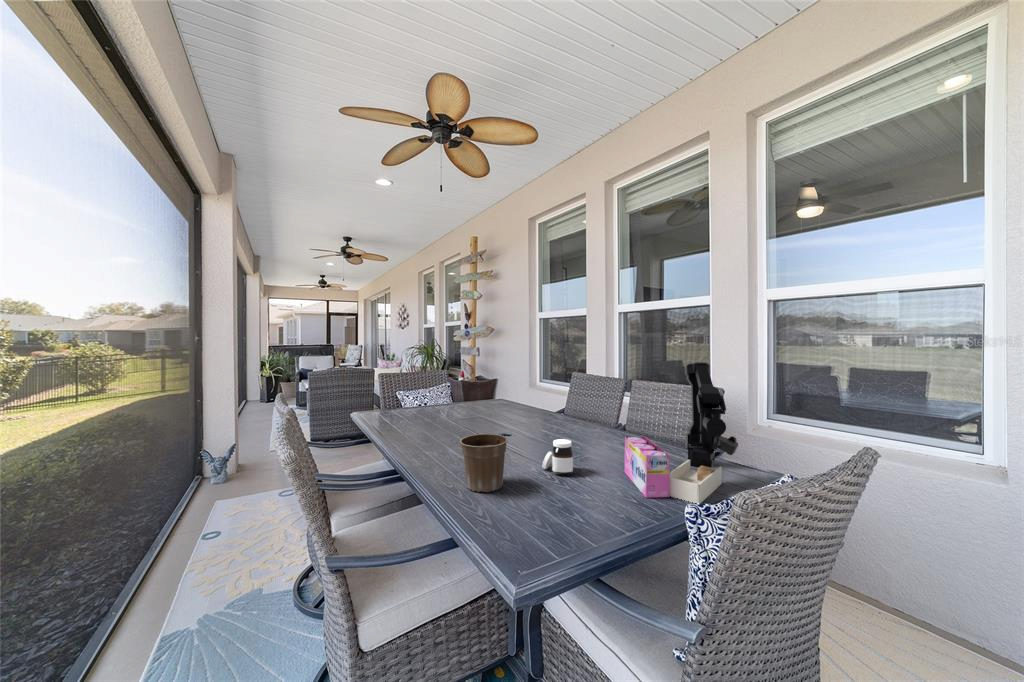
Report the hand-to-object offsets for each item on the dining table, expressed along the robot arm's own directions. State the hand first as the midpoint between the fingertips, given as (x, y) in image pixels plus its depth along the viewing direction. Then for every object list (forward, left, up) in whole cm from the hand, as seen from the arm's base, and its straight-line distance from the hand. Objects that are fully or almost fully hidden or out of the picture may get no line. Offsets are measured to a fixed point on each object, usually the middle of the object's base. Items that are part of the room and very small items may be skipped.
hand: (709, 473), depth 139 cm
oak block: (0, -4, -1) cm, 4 cm away
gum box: (-16, -15, -4) cm, 22 cm away
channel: (-3, -8, -4) cm, 9 cm away
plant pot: (-56, -53, -4) cm, 77 cm away
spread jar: (-46, -25, -4) cm, 52 cm away
